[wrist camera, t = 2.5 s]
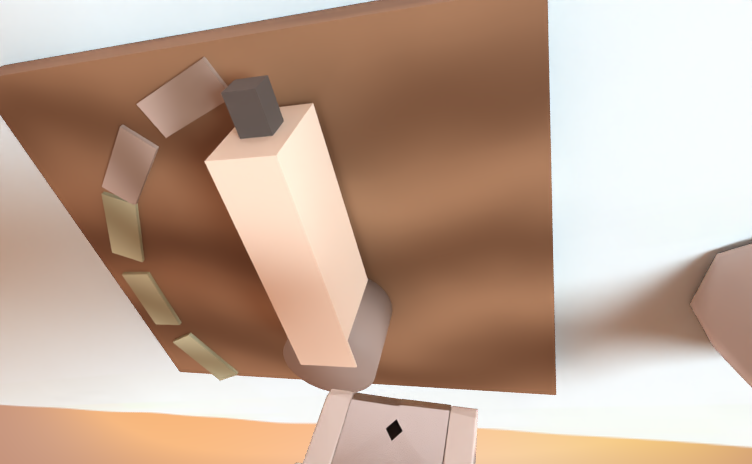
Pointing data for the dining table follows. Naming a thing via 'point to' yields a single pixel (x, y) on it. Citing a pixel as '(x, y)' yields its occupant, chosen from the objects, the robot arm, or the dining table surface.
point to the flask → (728, 307)
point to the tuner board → (353, 173)
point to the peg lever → (300, 237)
